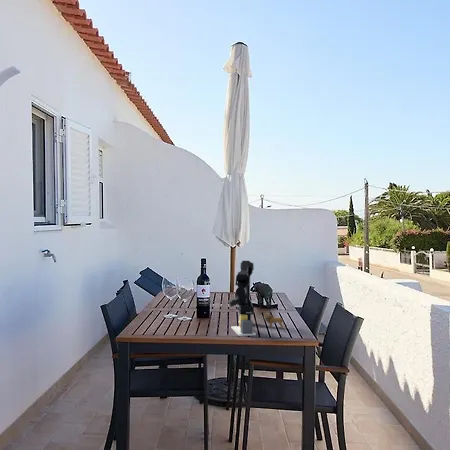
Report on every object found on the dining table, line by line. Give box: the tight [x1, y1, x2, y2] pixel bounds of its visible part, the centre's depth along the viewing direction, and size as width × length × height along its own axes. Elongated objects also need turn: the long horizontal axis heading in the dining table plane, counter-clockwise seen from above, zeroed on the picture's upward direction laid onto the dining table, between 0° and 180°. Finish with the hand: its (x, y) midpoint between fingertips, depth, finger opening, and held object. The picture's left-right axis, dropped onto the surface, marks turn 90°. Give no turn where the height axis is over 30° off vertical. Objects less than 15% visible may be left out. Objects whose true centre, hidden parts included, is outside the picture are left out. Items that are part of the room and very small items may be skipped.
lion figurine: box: [263, 312, 287, 330], centre depth 298 cm, size 15×5×9 cm, turn 71°
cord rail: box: [230, 319, 257, 337], centre depth 286 cm, size 22×10×8 cm, turn 11°
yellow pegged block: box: [238, 313, 248, 327], centre depth 285 cm, size 4×4×8 cm
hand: (241, 319), depth 289 cm, fingers closed
